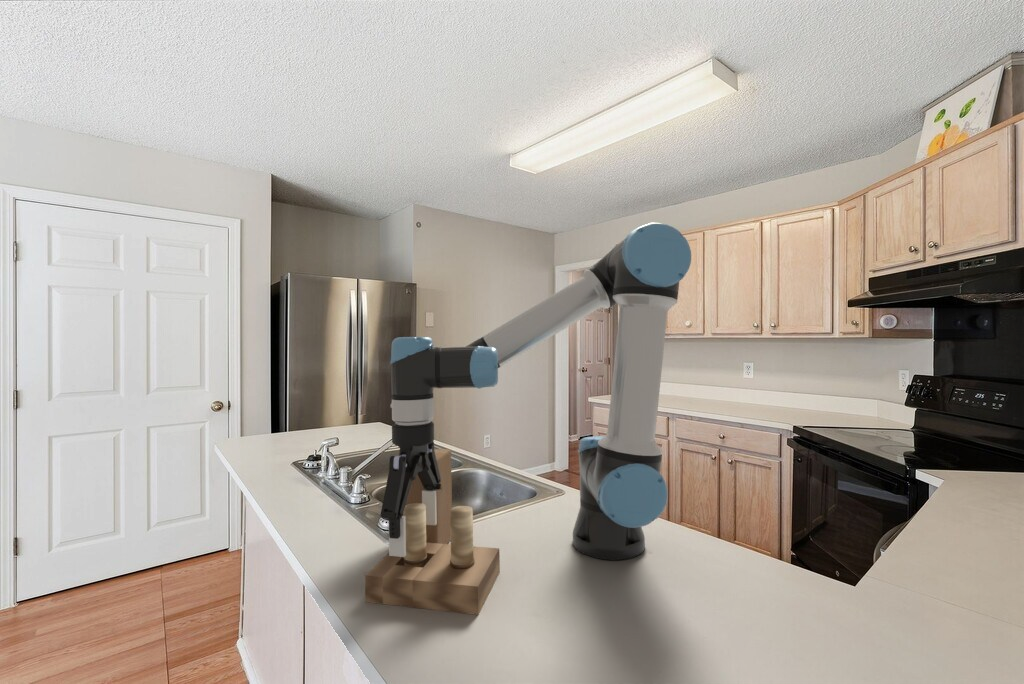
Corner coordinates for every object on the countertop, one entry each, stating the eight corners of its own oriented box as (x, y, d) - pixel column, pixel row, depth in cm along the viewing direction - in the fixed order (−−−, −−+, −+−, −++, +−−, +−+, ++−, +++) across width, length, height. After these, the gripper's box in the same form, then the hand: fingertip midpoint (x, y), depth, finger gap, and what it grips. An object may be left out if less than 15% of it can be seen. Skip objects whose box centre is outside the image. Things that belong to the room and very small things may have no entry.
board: (499, 572, 87) (498, 498, 87) (478, 614, 73) (476, 527, 73) (402, 563, 91) (401, 492, 91) (365, 601, 77) (364, 519, 78)
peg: (431, 579, 85) (429, 503, 85) (421, 591, 80) (420, 511, 81) (410, 577, 85) (408, 502, 86) (399, 588, 81) (398, 510, 81)
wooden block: (437, 558, 93) (435, 460, 93) (391, 555, 95) (390, 458, 95) (453, 538, 103) (451, 449, 103) (411, 535, 105) (410, 447, 105)
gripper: (421, 411, 96) (423, 512, 96) (356, 434, 72) (358, 569, 72) (455, 412, 94) (457, 514, 94) (400, 435, 70) (403, 574, 70)
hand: (414, 538), depth 83 cm, fingers open, 13 cm apart
